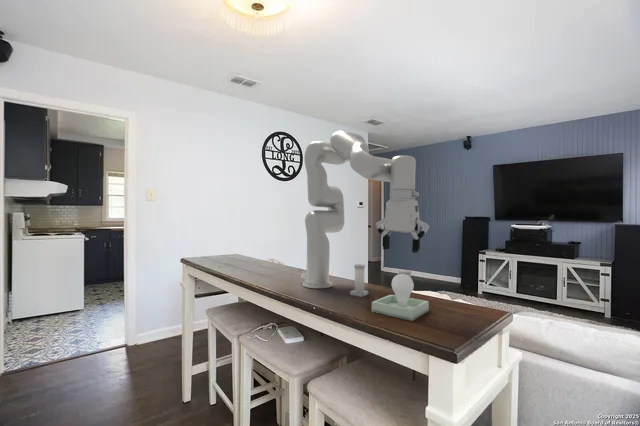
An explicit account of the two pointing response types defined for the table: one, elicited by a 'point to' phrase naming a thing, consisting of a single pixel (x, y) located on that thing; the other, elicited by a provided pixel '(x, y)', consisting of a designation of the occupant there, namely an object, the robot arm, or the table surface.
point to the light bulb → (402, 288)
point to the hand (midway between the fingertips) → (400, 250)
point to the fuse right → (405, 273)
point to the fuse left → (359, 281)
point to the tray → (391, 309)
